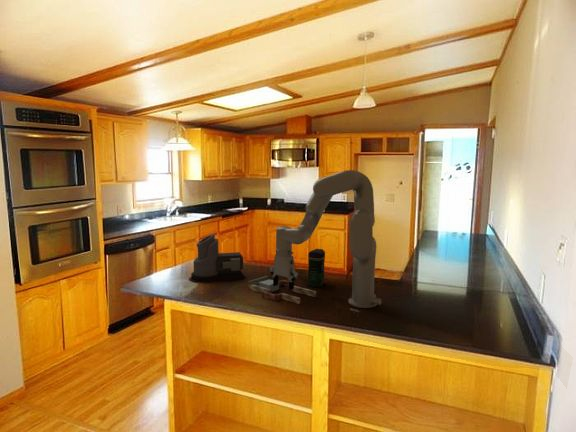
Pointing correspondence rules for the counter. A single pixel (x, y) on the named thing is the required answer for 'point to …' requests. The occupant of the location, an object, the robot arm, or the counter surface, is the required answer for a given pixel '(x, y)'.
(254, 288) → the trap channel
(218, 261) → the juicer
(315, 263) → the coffee jar
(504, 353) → the counter surface
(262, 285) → the gray block
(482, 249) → the counter surface
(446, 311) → the counter surface
